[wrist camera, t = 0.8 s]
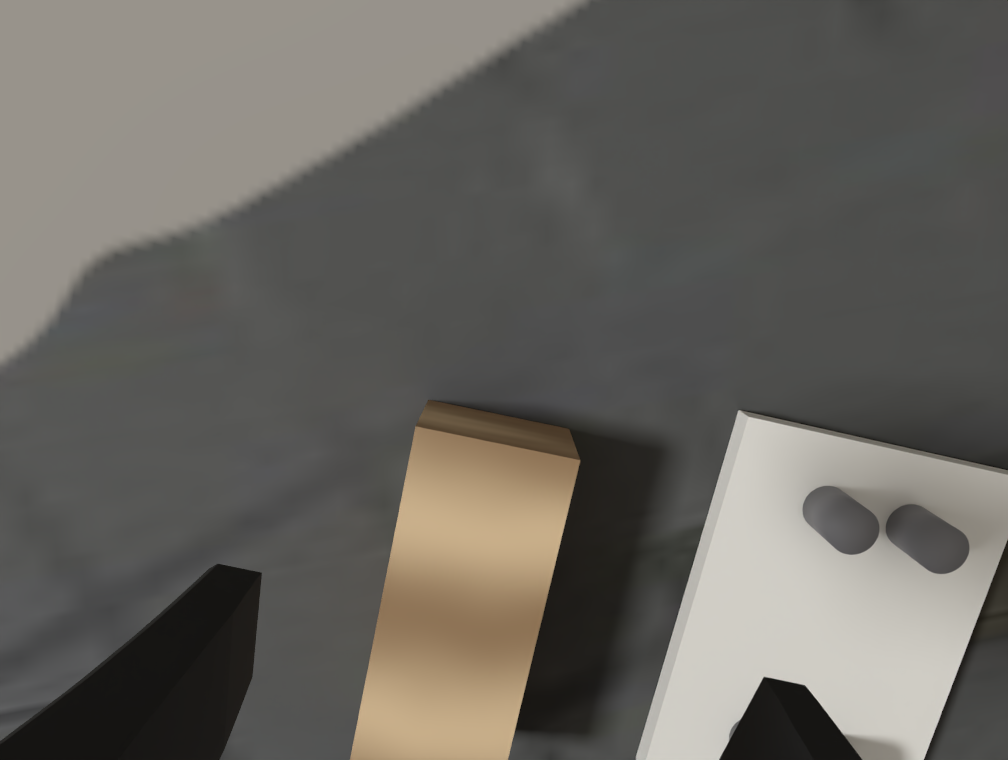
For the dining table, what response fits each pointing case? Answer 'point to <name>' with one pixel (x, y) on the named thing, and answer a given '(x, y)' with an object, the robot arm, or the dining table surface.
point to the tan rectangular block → (465, 585)
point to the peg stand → (830, 588)
